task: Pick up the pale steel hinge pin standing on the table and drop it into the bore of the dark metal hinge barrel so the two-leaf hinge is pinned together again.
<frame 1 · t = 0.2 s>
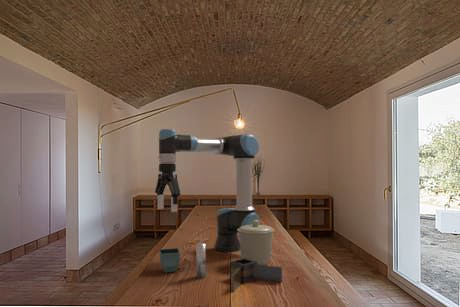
hand: (167, 210, 157), 28 cm above the table, tool pointing down, fingers open, 13 cm apart
flower pot: (169, 271, 158), on the table
canister: (256, 264, 169), on the table
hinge: (244, 278, 147), on the table
hinge pin: (201, 276, 149), on the table
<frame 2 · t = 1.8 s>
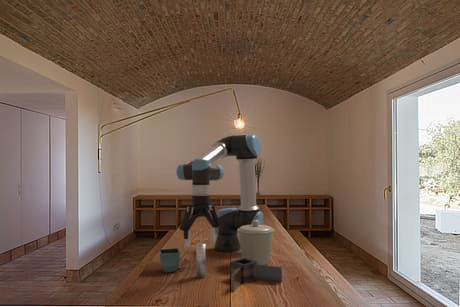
hand: (200, 244, 149), 14 cm above the table, tool pointing down, fingers open, 13 cm apart
nothing on the table moved.
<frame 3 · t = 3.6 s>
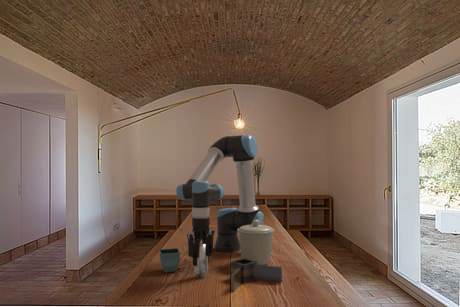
hand: (201, 271, 149), 2 cm above the table, tool pointing down, fingers closed on hinge pin, 4 cm apart
hinge pin: (201, 276, 149), on the table, touching gripper
everything else where it was.
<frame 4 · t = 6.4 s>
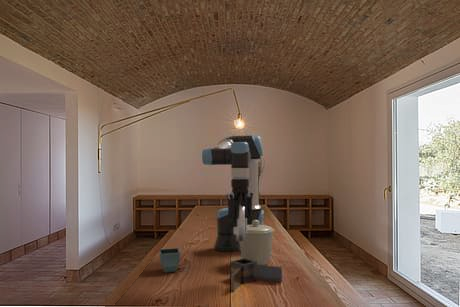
hand: (240, 233, 147), 19 cm above the table, tool pointing down, fingers closed on hinge pin, 4 cm apart
hinge pin: (240, 239, 147), point 16 cm above the table, touching gripper
everything else where it was.
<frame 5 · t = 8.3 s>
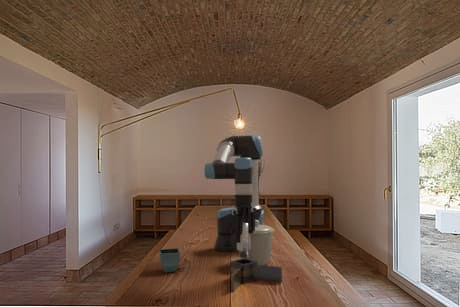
hand: (243, 249, 147), 12 cm above the table, tool pointing down, fingers closed on hinge pin, 4 cm apart
hinge pin: (243, 256, 147), point 9 cm above the table, touching gripper
everything else where it was.
when the fingers open (11 cm above the table, at t = 9.7 s): hinge pin drops 7 cm, resting in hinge.
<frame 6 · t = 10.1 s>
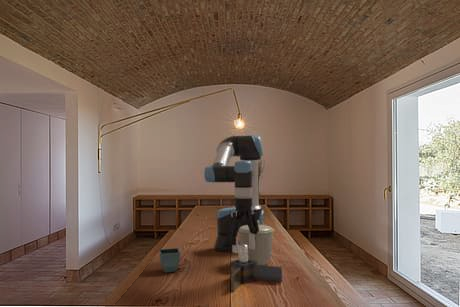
hand: (243, 250, 147), 12 cm above the table, tool pointing down, fingers open, 9 cm apart
hinge pin: (244, 278, 147), resting in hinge
everything else where it was.
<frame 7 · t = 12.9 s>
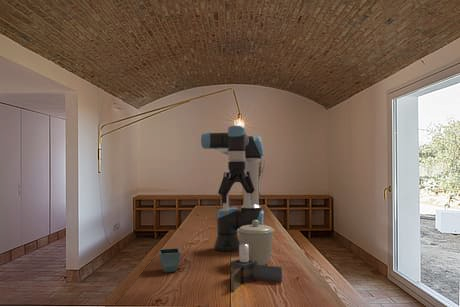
hand: (237, 209, 153), 28 cm above the table, tool pointing down, fingers open, 13 cm apart
nothing on the table moved.
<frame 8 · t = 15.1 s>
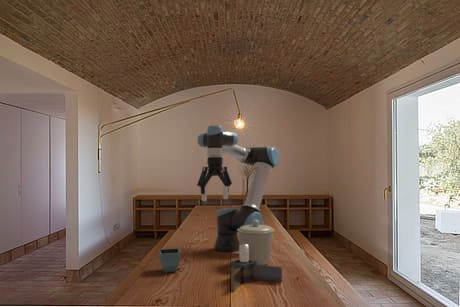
hand: (215, 200, 171), 31 cm above the table, tool pointing down, fingers open, 13 cm apart
nothing on the table moved.
at the end: hinge pin 0.2 cm off-centre on the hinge, point 0.0 cm above the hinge's base; hinge pin tilted 0°; the gripper is holding nothing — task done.
